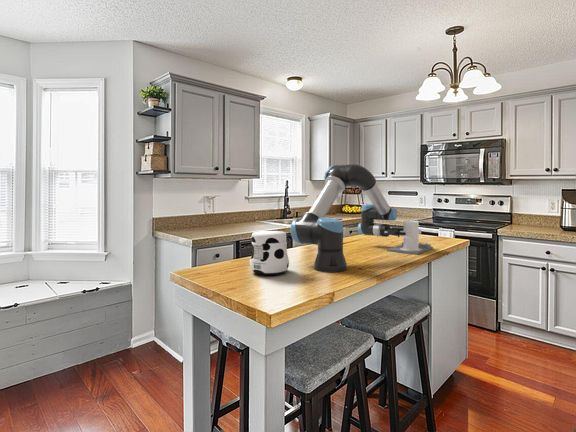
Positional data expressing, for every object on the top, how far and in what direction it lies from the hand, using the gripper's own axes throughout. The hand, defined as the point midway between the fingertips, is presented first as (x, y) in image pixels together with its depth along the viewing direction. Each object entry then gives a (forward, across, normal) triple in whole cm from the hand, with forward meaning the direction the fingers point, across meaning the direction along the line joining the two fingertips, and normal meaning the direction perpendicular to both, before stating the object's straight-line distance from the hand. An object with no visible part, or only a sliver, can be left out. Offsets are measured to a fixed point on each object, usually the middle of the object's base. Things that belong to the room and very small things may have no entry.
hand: (416, 232), depth 200 cm
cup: (-3, 0, -10) cm, 10 cm away
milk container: (-32, +87, -11) cm, 93 cm away
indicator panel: (-5, -4, -11) cm, 13 cm away
